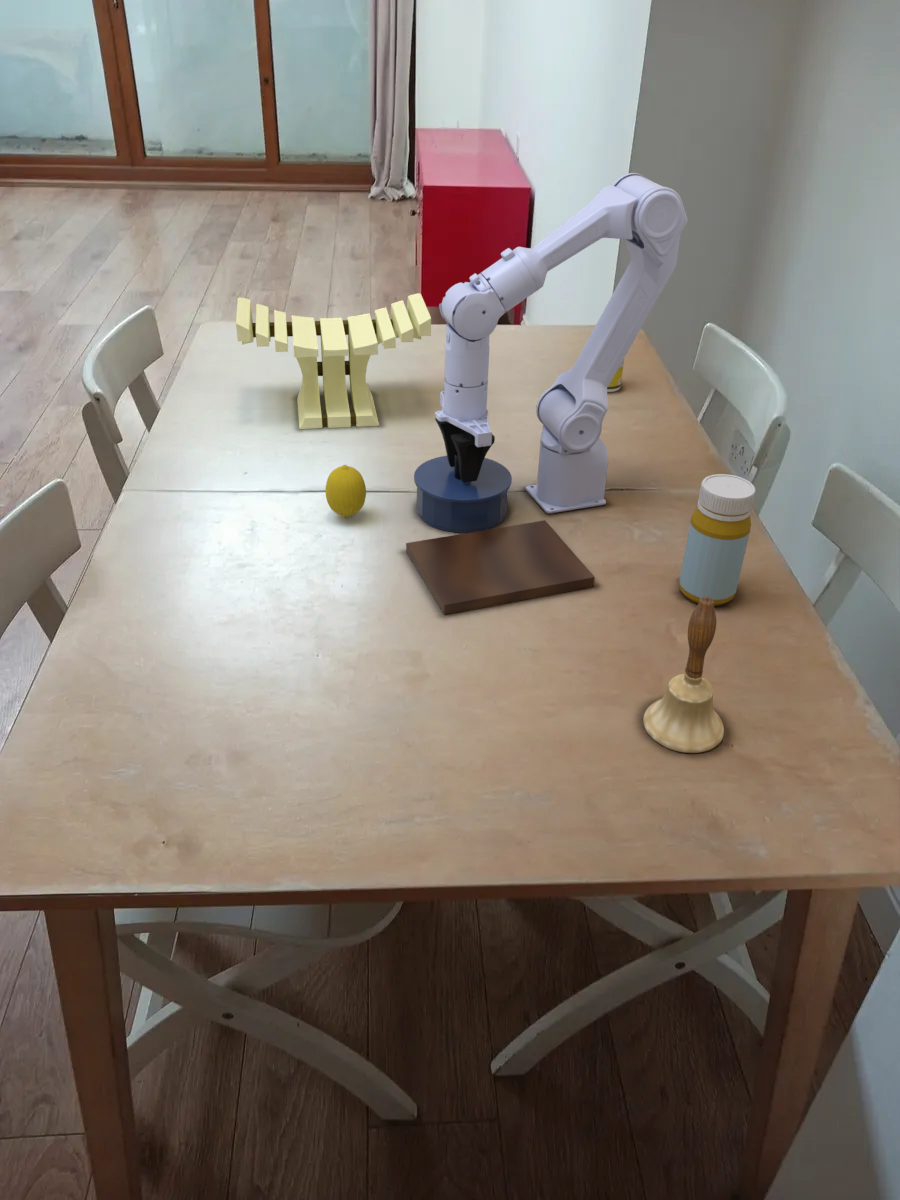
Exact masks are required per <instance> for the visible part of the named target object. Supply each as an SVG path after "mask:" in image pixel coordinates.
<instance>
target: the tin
mask: <svg viewBox="0 0 900 1200" xmlns="http://www.w3.org/2000/svg"><path fill="white" fill-rule="evenodd" d="M508 491H509V489H508V490H507V491H506V492H505V493H504V494H502V495H500V496H498V497H496V498H494V499H491V500H487V501H482V502H474V503H457V502H449V501H444V500H440V499H436V498H433V497H431V496H429V495H427V494H425V493H423V492H422V491H421V490H420V489H419V488H418V487H417V486H416V511H417V514H418V516H419V517H420V519H421V520H422V522H424V523H426V525H429V526H430V527H432V528H435V529H438V530H441V531H445V532H450V533H457V534H458V533H459V534H464V533H470V532H476V531H482V530H489V529H493V528H494V527H496V526H498V525H499V524H500V523H502V522H503V520H504V519H505V517H506V515H507V508H508V507H507V506H508V493H509V492H508Z"/></svg>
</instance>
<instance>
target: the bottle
mask: <svg viewBox="0 0 900 1200" xmlns="http://www.w3.org/2000/svg"><path fill="white" fill-rule="evenodd" d="M755 495H756V487H755V485H754V484H753V483H752V482H750V481H749V480H747V479H745V478H744V477H741V476H738V475H734V474H729V473H728V474H727V473H717V474H710V475H708V476H706V477H705V478H703V480H702V481H701V484H700V489H699V494H698V501H697V505H696V507H695V509H694V511H693V512H692V514H691V518H690V522H689V526H688V534H687V539H686V543H685V549H684V554H683V558H682V559H683V560H682V564H681V571H680V575H679V582H678V587H679V589H680V591H681V592H682V594H683V595H684V596H685V598H686V599H688V600H690V601H691V602H694V603H696V604H698V603H699V601H700V599H701V598H702V597H710V598H712V599H713V600H714V607H716V606H722V605H725V604H727V603H729V602H730V601H732V600H733V599H734V598H735V596H736V593H737V589H738V585H739V580H740V576H741V573H742V568H743V565H744V564H743V563H744V559H745V554H746V550H747V546H748V541H749V538H750V537H749V536H750V533H751V527H752V520H751V511H752V507H753V503H754V500H755Z"/></svg>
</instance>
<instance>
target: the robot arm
mask: <svg viewBox="0 0 900 1200" xmlns="http://www.w3.org/2000/svg"><path fill="white" fill-rule="evenodd" d="M688 220H689V219H688V217H687V213H686V209H685V207H684V203H683V199H682V198H681V195H680V194H679V193H678V192H677V191H676V190H675V189H672V188H670V187H667V186H663V185H660V184H658V183H657V182H654V181H652V180H650V179H648V178H647V177H646V176H644V175H643V174H641V173H638V172H629V173H626V174H623V175H621V176H620V177H618V178H617V179H616V180H615V181H614V182H613V184H611V183H610V184H608V185H606V186H604V187H602V188H601V189H600V190H599V192H598V193H597V194H596V195H595V197H594V198H593V199H592V200H591V201H590V202H589V203H588V204H586V205H585V206H584V207H583V208H582V209H579V211H578V212H576V213H575V214H574V215H573V216H571V217H570V218H568V220H566V221H565V222H564V223H562V224H561V225H560V226H558V227H557V228H556V229H555V230H554V231H552V232H551V233H550V234H548V235H547V236H546V237H545V238H543V239H542V240H541V241H539V242H538V243H537V244H536V245H535V246H533V247H523V246H517V247H515V248H514V249H513V250H512V249H511V248H510V247H507V248H506V249H504V250H503V251H502V252H501V253H500V256H501V258H499V259H498V260H497V261H495V262H494V263H493V264H491V265H490V266H488V267H487V268H485V269H484V270H483V271H481V272H480V273H478V274H477V273H475V272H474V273H473V274H472V275H470V276H469V282H468V281H464V282H462V281H461V282H458V283H455V284H454V285H452V286H451V287H449V288H448V290H446V292H445V296H443V297H442V300H441V303H439V304H438V307H439V313H440V315H441V317H442V319H443V320H444V321H445V322H446V324H445V344H444V373H443V374H444V379H443V380H444V383H443V385H444V386H443V390H442V391H440V392H439V405H440V406H441V410H437V411H435V413H434V420H435V422H436V423H437V426H438V428H439V430H440V433H441V435H442V439H443V442H444V443H443V444H444V447H445V451H446V456H447V458H448V462H449V465H450V466H451V467H455V453H456V452H457V455H458V460H459V471H460V477H461V480H462V482H463V483H465V482H472V481H477V479H478V476H479V473H480V469H481V466H482V463H483V460H484V458H486V456H487V454H488V452H489V450H490V449H491V447H492V446H493V445H494V444H495V441H496V436H495V435H494V434H493V431H492V430H491V428H490V421H489V420H490V419H489V410H488V390H489V389H488V388H489V365H490V335H492V333H493V332H494V331H495V330H496V328H497V325H498V322H499V319H500V318H501V317H502V316H503V315H504V314H506V313H507V312H509V311H511V310H512V309H513V308H515V307H516V306H517V305H519V304H521V302H523V301H524V300H526V299H527V298H528V297H530V296H531V295H533V294H534V293H536V292H537V291H539V290H540V289H542V288H543V287H544V284H545V281H546V278H547V275H548V272H550V271H551V270H554V268H556V267H558V266H559V265H561V264H562V263H564V262H566V261H568V260H569V259H571V258H573V257H574V256H576V255H577V254H579V253H580V252H582V251H583V250H585V249H587V248H588V247H590V246H591V245H593V244H595V243H597V242H598V241H599V240H602V239H617V240H624V241H625V244H626V245H625V246H626V248H627V251H628V255H629V258H630V262H629V263H628V265H627V267H626V269H625V271H624V272H623V274H622V277H620V280H619V281H618V283H617V285H616V287H615V289H614V291H613V293H612V294H611V297H610V299H609V300H608V302H607V304H606V306H605V307H604V310H603V311H602V313H601V315H600V317H599V319H598V320H597V323H596V324H595V326H594V328H593V330H592V331H591V333H590V335H589V337H588V338H587V341H586V342H585V344H584V346H583V348H582V350H581V351H580V353H579V355H578V357H577V359H576V361H575V363H574V364H573V366H572V367H571V368H570V369H568V370H566V371H563V372H562V373H560V374H558V376H557V377H556V379H555V380H554V382H553V384H552V385H551V386H550V387H549V388H548V389H546V390H545V391H544V392H542V394H541V395H540V397H539V399H538V400H537V403H536V406H535V412H536V416H537V419H538V420H539V422H540V423H541V424H542V431H541V435H540V442H539V452H538V453H539V454H538V467H537V477H536V478H537V479H536V484H531V485H526V486H525V491H526V492H527V493H528V494H529V495H530V496H531V498H532V499H533V500H534V501H535V502H536V503H537V504H538V505H539V506H540V508H541V509H542V510H543V511H544V512H545V513H546V514H555V513H561V512H568V511H573V510H580V509H586V508H593V507H598V506H603V505H606V504H607V500H606V499H605V492H606V483H607V476H608V468H609V454H608V449H607V446H606V444H605V443H604V441H603V439H602V438H600V437H601V435H602V429H603V421H604V418H605V416H606V414H607V413H608V411H609V398H608V392H607V387H608V386H609V384H610V382H611V380H612V379H613V377H614V375H615V373H616V371H617V370H618V368H619V366H620V364H621V363H622V361H623V359H624V360H625V357H626V356H627V354H628V352H629V350H630V349H631V347H632V345H633V344H634V341H635V340H636V338H637V336H638V334H639V333H640V331H641V329H642V327H643V325H644V324H645V322H646V321H647V318H649V317H648V316H649V315H650V313H651V311H652V310H653V308H654V306H655V304H656V303H657V301H658V299H659V297H660V295H661V294H662V292H663V290H664V288H665V287H666V285H667V283H668V282H669V280H670V278H671V276H672V274H673V273H674V271H675V268H676V266H677V263H678V256H679V247H680V241H681V234H682V232H683V230H684V228H685V227H686V225H687V223H688Z"/></svg>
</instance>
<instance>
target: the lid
mask: <svg viewBox="0 0 900 1200" xmlns="http://www.w3.org/2000/svg"><path fill="white" fill-rule="evenodd" d="M413 481H414V485H415V487H416V488H417V487H418V488H419V489H420V490H421V491H422V492H423V493H425V494H427V495H429V496H431V497H433V498H436V499H440V500H444V501H449V502H457V503H474V502H482V501H487V500H491V499H494V498H496V497H498V496H500V495H502V494H504V493H505V492H506V491H507V490H508V491H509V489H511V487H512V483H513V477H512V474H511V471H510V470H509V469H508V468H507V467H506V466H504V465H503V464H502V463H500V462H498V461H496V460H494V459H490V458H487V457H485V458H484V460H483V463H482V466H481V469H480V473H479V476H478V479H477V481H472V482H465V483H463V482H462V480H461V477H460V471H459V460H458V455H457V452H456V453H455V467H451V466H450V465H449V462H448V458H447V455H443V456H437V457H434V458H431V459H428V460H426V461H424V462H422V463H421V464H420V465H419V466H417V468H416V469H415V471H414V474H413Z"/></svg>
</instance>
